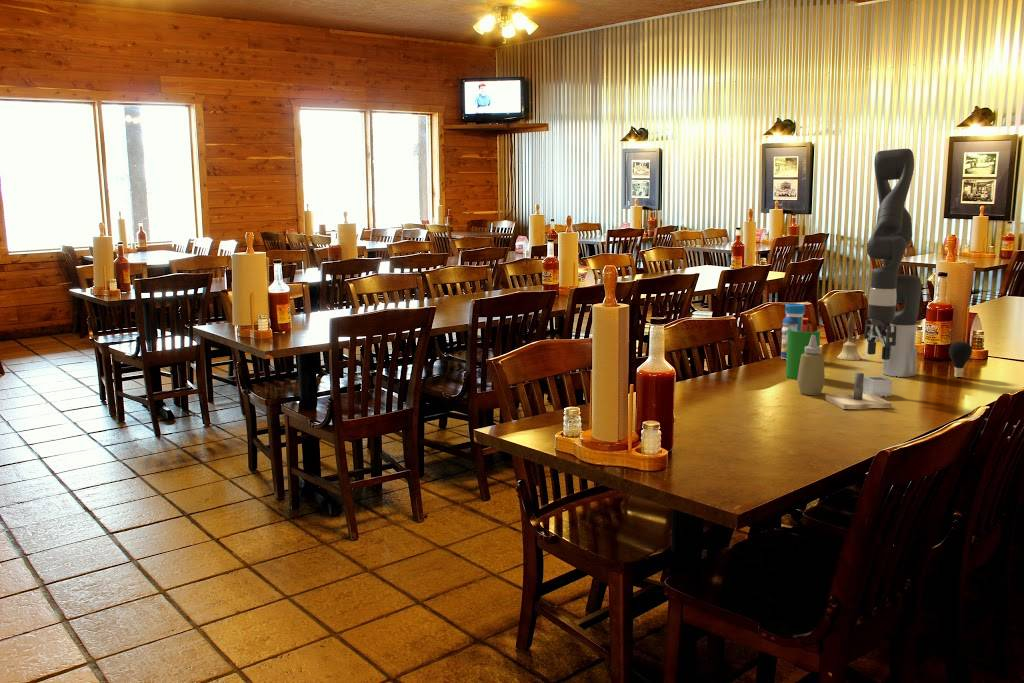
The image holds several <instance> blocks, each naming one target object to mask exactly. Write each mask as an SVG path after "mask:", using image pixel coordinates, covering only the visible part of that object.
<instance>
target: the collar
mask: <svg viewBox="0 0 1024 683" xmlns="http://www.w3.org/2000/svg"><path fill="white" fill-rule="evenodd" d="M892 386H893V380H892V379H890V378H888V377H885V376H883V375H879V376H877V375H875V376H873V375H871V376H864V382H863V394H864V393H865V394H866V393H871V394H873V395H875V396H877V397H879V398H883V397H882V396H885V397H884V398H888V397H887V396H891V397H892V390H893V389H892V388H893V387H892Z"/></svg>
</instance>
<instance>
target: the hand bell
mask: <svg viewBox="0 0 1024 683" xmlns="http://www.w3.org/2000/svg"><path fill="white" fill-rule="evenodd" d="M855 329H856V318H855V315H854V314H850V315H849V317H848V320H847V330H848V336H847V341H846V342H844V343H843V345H842V349H841V352H840V354H838V355H837V357H836V358H837V359H838V358H839V360H842V359H844V360H843V361H859V360H860V359H861V360H862V357H861V356H860V354H859V352H858V348H857V343H855V342H854V341H853V340H854V331H855Z"/></svg>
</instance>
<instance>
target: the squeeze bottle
mask: <svg viewBox="0 0 1024 683" xmlns="http://www.w3.org/2000/svg"><path fill="white" fill-rule="evenodd" d="M821 351H822V348H821V346H820V347H818V346H817V341H816V335H811V339H810V342H809V346H805V353H803V354H802V355H801V359H800V366H799V372H798V378H797V379H796V380H797V381H796V382H797V385H798V386H797V387H798V388H799V393H801V394H802V395H806V396H817V395H821V393H822V392H823V389H824V387H825V384H826V378H825V377H826V375H825V360H824V359H825V357H824V355H823V354H822V352H821Z"/></svg>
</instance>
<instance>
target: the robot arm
mask: <svg viewBox="0 0 1024 683" xmlns="http://www.w3.org/2000/svg"><path fill="white" fill-rule="evenodd" d="M873 163H874V166H873V167H874V173H875V181H876V188H877V189H876V190H877V196H878V204H879V205H878V206H879V207H878V210H877V217H876V224H875V228H874V229H873V231H872V234H871V236H870V237H869V239H868V242H867V245H866V254H867V255H868V257H869V258H871V259H872V260H882V266H880V267H875V268H873V269H872V272H871V277H870V282H871V283H870V290H869V296H868V304H867V306H868V307H867V308H868V309H867V318H868V319H865V325H864V326H865V327H864V334H863V338H864V339H866V342H867V354H868V355H875V354H876V350H877V349H876V348H877V341H880V342H881V346H882V347H881V359H882V360H883V362H882V363H883V365H882V375H885V376H890V377H896V376H897V378H907V377H913V376H916V374H917V359H918V347H917V346H916V339H917V338H916V335H917V326H918V325H917V323H918V322H917V321H918V317H919V316H918V315H919V311H920V310H919V308H920V301H921V294H922V281H921V278H920V277H919V276H918V275H912V274H899V269H900V266H901V263H902V260H903V258H904V256H905V252H906V251H907V248H908V247H909V245H910V243H911V241H912V239H913V222H912V216H911V214H910V213H909V211H908V209H907V208H906V207H905V203H906V200H907V196H908V193H909V190H910V186H911V182H912V180H913V176H914V170H915V156H914V152H913V150H912V149H911V148H896V149H886V150H880V151H877V152H876V153H875V156H874V162H873ZM894 180H898V181H897V183H896V185H895V186H894V187H893V188H891V186H890V183H889V181H894ZM897 303H900V304H904V307H903V308H902V309H900V310H898V311H897V310H896V308H897Z"/></svg>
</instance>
